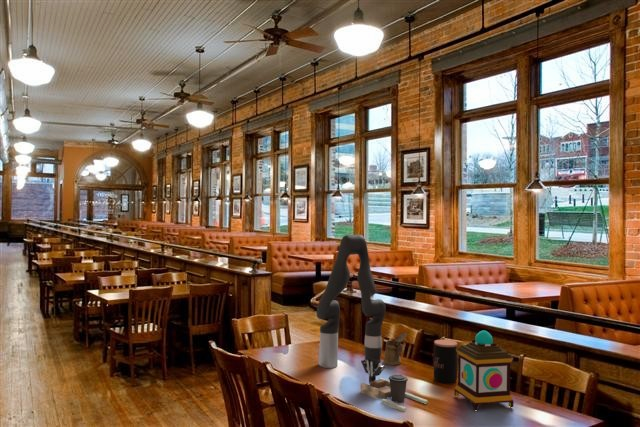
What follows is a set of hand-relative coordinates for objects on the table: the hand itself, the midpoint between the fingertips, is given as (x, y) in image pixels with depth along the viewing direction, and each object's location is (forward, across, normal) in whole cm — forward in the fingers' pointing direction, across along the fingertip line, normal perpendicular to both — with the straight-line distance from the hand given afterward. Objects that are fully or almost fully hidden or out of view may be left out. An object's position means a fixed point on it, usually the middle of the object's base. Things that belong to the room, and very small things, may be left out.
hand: (372, 384), depth 222 cm
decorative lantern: (+2, +38, +27) cm, 47 cm away
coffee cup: (+3, +15, 0) cm, 15 cm away
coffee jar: (+3, +11, +37) cm, 39 cm away
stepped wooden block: (+3, +4, 0) cm, 5 cm away
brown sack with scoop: (+3, -21, +37) cm, 43 cm away
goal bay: (+2, +19, 0) cm, 19 cm away
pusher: (+2, +7, 0) cm, 7 cm away
